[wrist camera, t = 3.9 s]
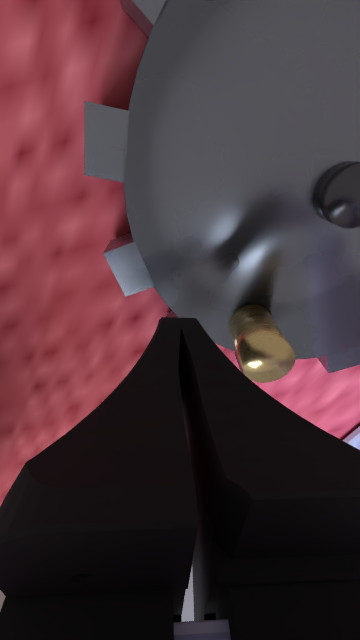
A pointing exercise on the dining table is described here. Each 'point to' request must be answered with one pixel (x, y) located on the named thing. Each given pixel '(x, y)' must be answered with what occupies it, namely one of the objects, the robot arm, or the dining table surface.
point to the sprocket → (243, 174)
